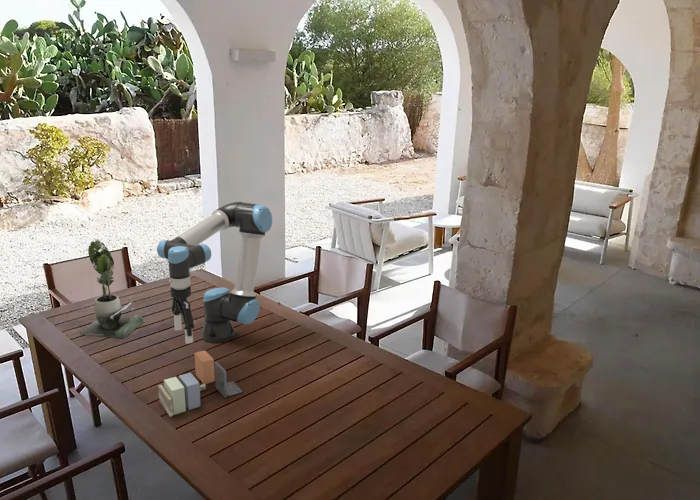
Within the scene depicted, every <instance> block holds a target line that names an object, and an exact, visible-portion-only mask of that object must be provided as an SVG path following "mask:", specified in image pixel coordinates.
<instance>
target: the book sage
mask: <svg viewBox="0 0 700 500" xmlns="http://www.w3.org/2000/svg"><path fill="white" fill-rule="evenodd" d="M163 387H164V389H165V390H166V391H167V393H168V394H169V395H170V397H171V398H172V404H173V416H174V415H178V414H181V413H184V412H186V411H187V407H186V405H185V391H184V386H183V385H182V384H181V383H180V381H179V378H177V376H173V377H169V378H167V379H163Z"/></svg>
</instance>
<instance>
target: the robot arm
mask: <svg viewBox="0 0 700 500" xmlns="http://www.w3.org/2000/svg"><path fill="white" fill-rule="evenodd" d="M272 225H273V214H272V212H271V210H270V208H268V206H266V205H262V204H256V203H250V202H243V201H235V202H230V203H227V204H225V205H223V206H220V207H219V208H217V209H215V210H213V212H212V213H211V215H210V216H208V217H206V218H205V219H204V220H202V221H200V222H199V223H197V224H195V225H194V226H192V227H190V228H189V229H187V230H186V231H184V232H182V233H181V234H179V235H178V236H176V237H174V238H172V239H171V240H169V239H163V240H160V241H159V243H157V246H156V251H157V255H158V256H159V257H160V258H162V259H165V260H167V263H168V272H169V279H168V283H169V284H170V297H171V298H172V301H171V302H172V303H171V304H172V305H171V312H172V315H173V321H174V322H173V323H174V324H173V325H174V331H181V330H183V329H184V337H185V344H186V345H187V344H193V343H194V336H193V335H194V333H193V329H195V324H194V323H195V322H194V320H193V315H192V309H191V302H189V301H188V300H187V299H188V298H190V296H192V291H191V290H192V289H191V272H190V271H191V269H192V268H196V267H198V266H200V265H202V264H205V263H207V262H208V261H210V259H211V258H212V250H211V248H210V246H209V245H207V244H205V243H203V242H204V241H206V240H208V239H209V238H211V237H212V236H214V235H215V234H217V233H219V232H220V231H224V230H227V229H228V228H233V227H234V228H239V230H238V233H239V234H240V236H241V240H240V248H239V255H238V261H237V268H236V275H235V282H234V288H233V289H232V290H230V289H229V288H228V287H215V288H211V289H208V290H207V291H205V292H204V294H203V312H204V325H203V327H202V331H201V339H202V340H203V341H205V342H207V343H213V344H217V343H219V344H220V343H224V342H228V341H230V340H232V339H233V338H235V335H236V333H235V328H234V325H233V323H232V322H235V323H238V324H243V325H250V324H252V323H253V322H254V321H255V320H256V318H257V317H258V316H259V313H260V309H261V305H260V301H258V300H257V294H256V292H255V291H254V289H255V283H256V275H257V269H258V268H257V267H258V261H259V256H260V255H259V254H260V247H261V241H262V238H264V237H265V235H266V233H267V232H269V231H270V230H271V228H272ZM182 320H183V323H184V328H183V325H182V324H183V323H182Z"/></svg>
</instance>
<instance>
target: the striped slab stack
mask: <svg viewBox="0 0 700 500" xmlns="http://www.w3.org/2000/svg"><path fill="white" fill-rule="evenodd" d="M157 387H158V388H157V389H158V398H159V399H158V400H159V403H160V405H161V406H162V407H163V409H164V411H166V413H167V414H168V417H173V416H174V414H173V404H172V398H171V397H170V395H169V394H168V393H167V391H166V390H165V389H164V385H162V384H159V385H157ZM199 387H200V392H201V391H204V390H205V391H206V390H207V384H203V383H202V384H199Z"/></svg>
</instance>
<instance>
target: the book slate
mask: <svg viewBox="0 0 700 500" xmlns="http://www.w3.org/2000/svg"><path fill="white" fill-rule="evenodd" d="M178 380H179V381H180V383H181V384H182V385H183V386H184V391H185V406H186V409H188V410H189V411H190V410H193V409H196V408H199V407H201V405H202V404H201V391H200V387H199V385H200V382H199V381H198V380H197V378H195V376H194V375H193V373H191V372H188V373H184V374H180V375H178Z"/></svg>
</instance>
